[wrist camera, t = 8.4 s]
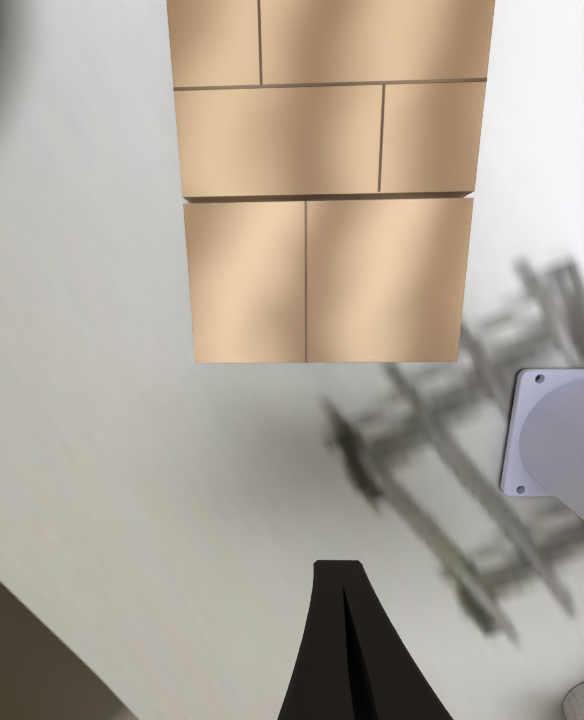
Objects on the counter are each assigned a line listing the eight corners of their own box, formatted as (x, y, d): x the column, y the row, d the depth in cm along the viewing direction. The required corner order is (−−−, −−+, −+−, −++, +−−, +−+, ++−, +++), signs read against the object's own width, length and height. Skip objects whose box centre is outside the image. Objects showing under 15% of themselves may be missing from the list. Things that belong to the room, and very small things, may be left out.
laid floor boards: (484, -23, 14) (501, -51, 13) (462, 197, 17) (474, 190, 15) (174, -10, 15) (163, -36, 14) (190, 202, 17) (182, 196, 16)
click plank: (461, 204, 17) (474, 197, 15) (447, 356, 18) (457, 361, 17) (191, 209, 17) (182, 203, 16) (202, 358, 19) (195, 362, 18)
